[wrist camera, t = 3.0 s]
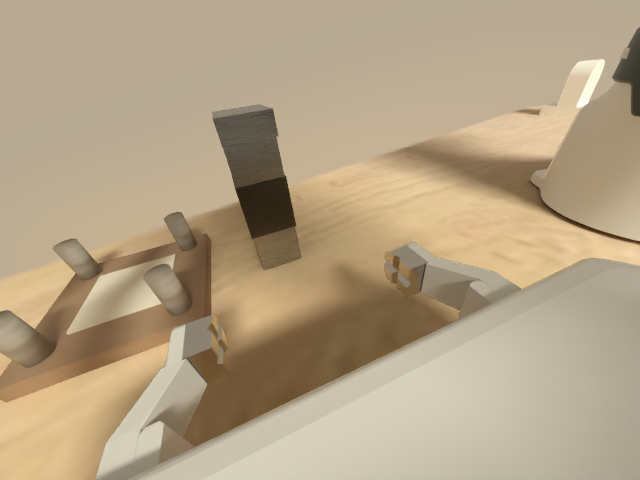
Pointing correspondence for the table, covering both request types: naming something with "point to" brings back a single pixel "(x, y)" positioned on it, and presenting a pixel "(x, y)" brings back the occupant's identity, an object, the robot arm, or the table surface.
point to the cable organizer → (576, 89)
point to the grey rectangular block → (260, 180)
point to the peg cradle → (108, 311)
